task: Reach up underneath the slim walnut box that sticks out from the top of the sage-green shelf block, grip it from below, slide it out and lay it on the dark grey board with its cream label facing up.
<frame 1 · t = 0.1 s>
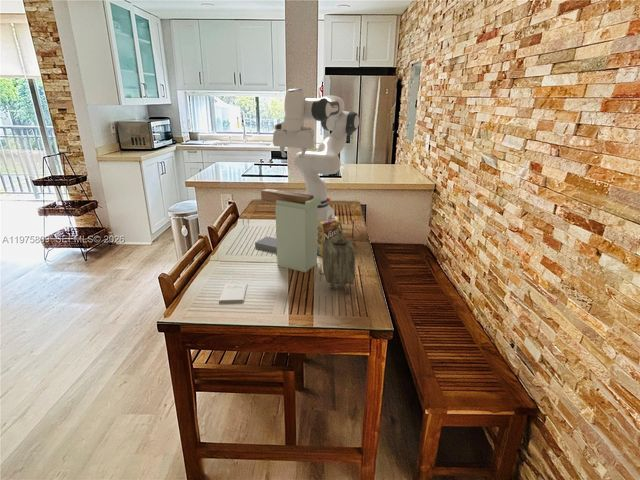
hand: (292, 157, 172), 39 cm above the table, tool pointing down, fingers open, 8 cm apart
grey board: (285, 250, 170), on the table
grey-green rolling suitcase: (337, 287, 137), on the table
shelf block: (297, 264, 155), on the table
external hard drive: (234, 295, 132), on the table
candy box: (327, 253, 167), on the table
slim box: (286, 202, 148), point 26 cm above the table, touching shelf block
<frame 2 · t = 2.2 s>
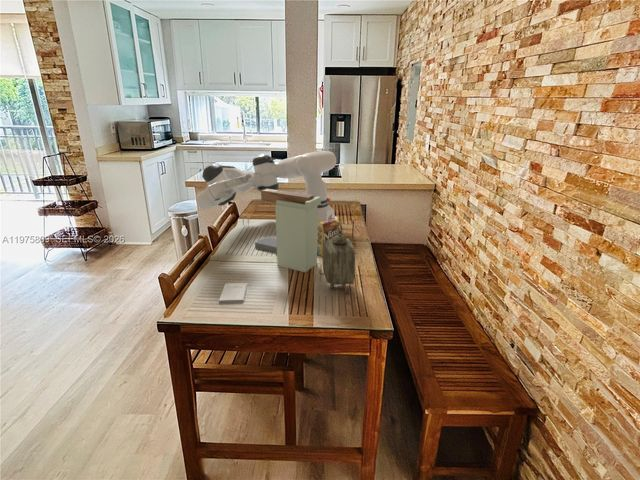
hand: (243, 177, 155), 34 cm above the table, tool pointing upward, fingers open, 8 cm apart
nothing on the table moved.
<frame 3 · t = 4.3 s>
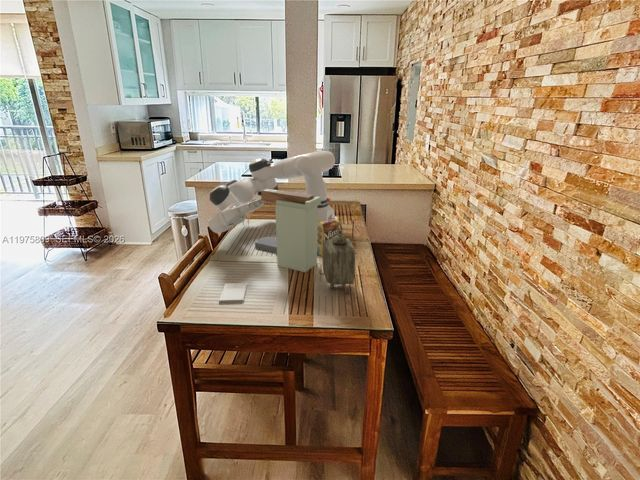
hand: (256, 202, 154), 24 cm above the table, tool pointing upward, fingers open, 8 cm apart
nothing on the table moved.
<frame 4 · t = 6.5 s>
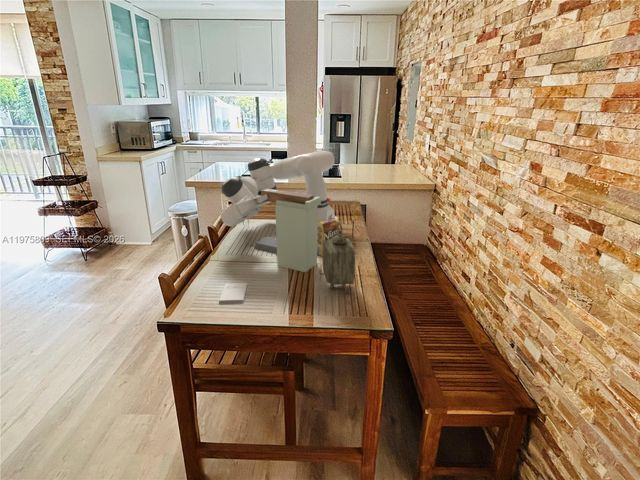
hand: (271, 194, 150), 28 cm above the table, tool pointing upward, fingers closed on slim box, 4 cm apart
slim box: (286, 202, 148), point 26 cm above the table, touching gripper, shelf block
everything else where it was.
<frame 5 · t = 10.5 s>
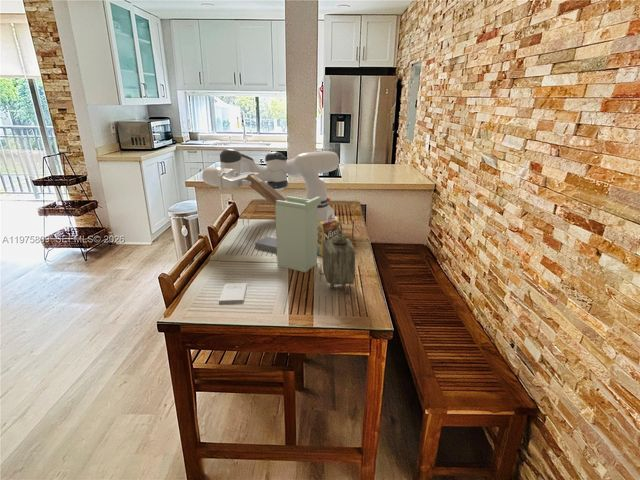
hand: (255, 181, 165), 30 cm above the table, tool horizontal, fingers closed on slim box, 4 cm apart
slim box: (265, 195, 164), point 24 cm above the table, tilted 30°, touching gripper
everything else where it was.
when the fingers open (7 cm above the table, at t = 14.2 s): slim box drops 1 cm, resting on grey board.
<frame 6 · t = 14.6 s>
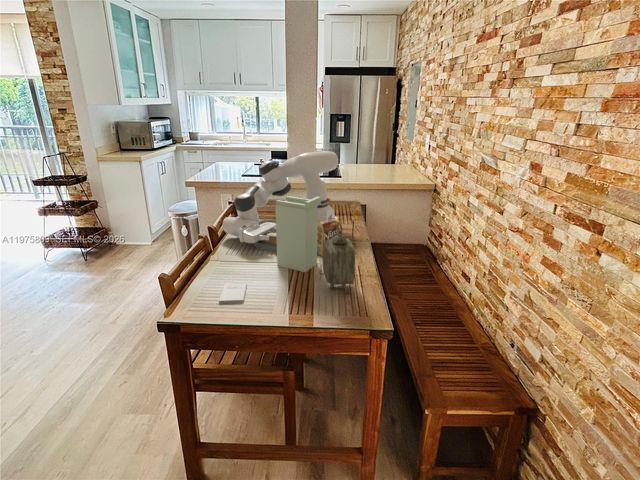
hand: (275, 235, 169), 7 cm above the table, tool horizontal, fingers open, 8 cm apart
slim box: (286, 245, 168), point 2 cm above the table, touching grey board
everything else where it was.
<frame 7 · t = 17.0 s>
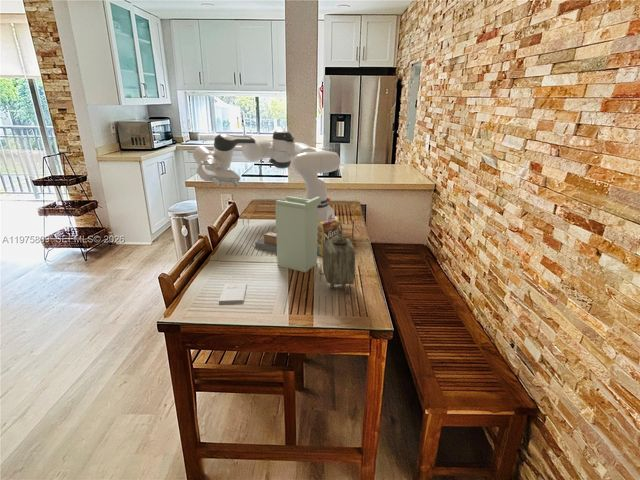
hand: (228, 185, 174), 26 cm above the table, tool tilted 65°, fingers open, 8 cm apart
nothing on the table moved.
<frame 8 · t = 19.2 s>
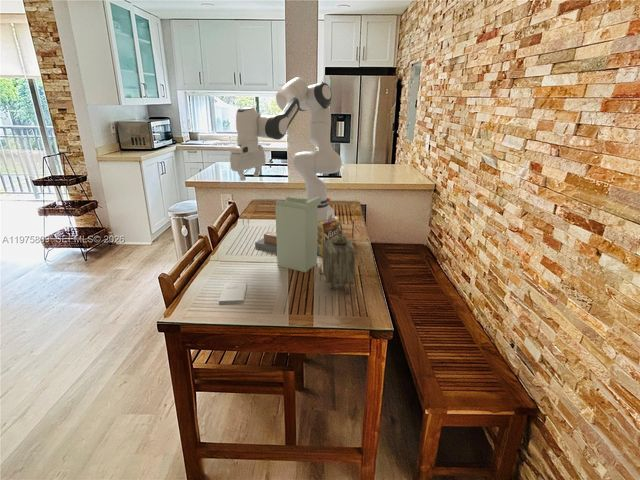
hand: (249, 178, 166), 31 cm above the table, tool pointing down, fingers open, 8 cm apart
nothing on the table moved.
at the end: slim box inside the target area (0.6 cm from its centre), point 2.5 cm above the table; slim box tilted 0°; the gripper is holding nothing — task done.
